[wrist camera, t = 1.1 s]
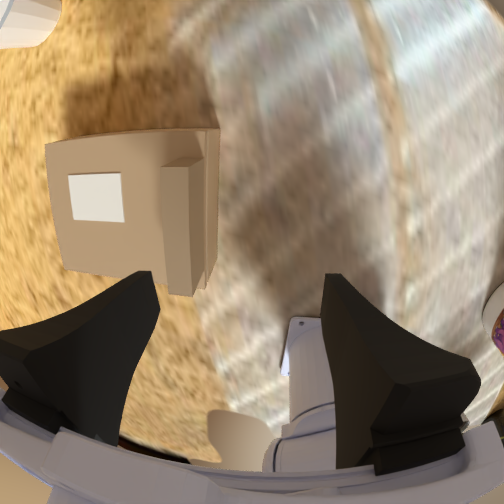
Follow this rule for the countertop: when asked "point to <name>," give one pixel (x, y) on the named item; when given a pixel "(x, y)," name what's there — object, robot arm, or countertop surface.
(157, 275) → the lid
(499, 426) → the supplement bottle
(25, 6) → the white cup
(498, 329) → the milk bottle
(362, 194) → the countertop surface
